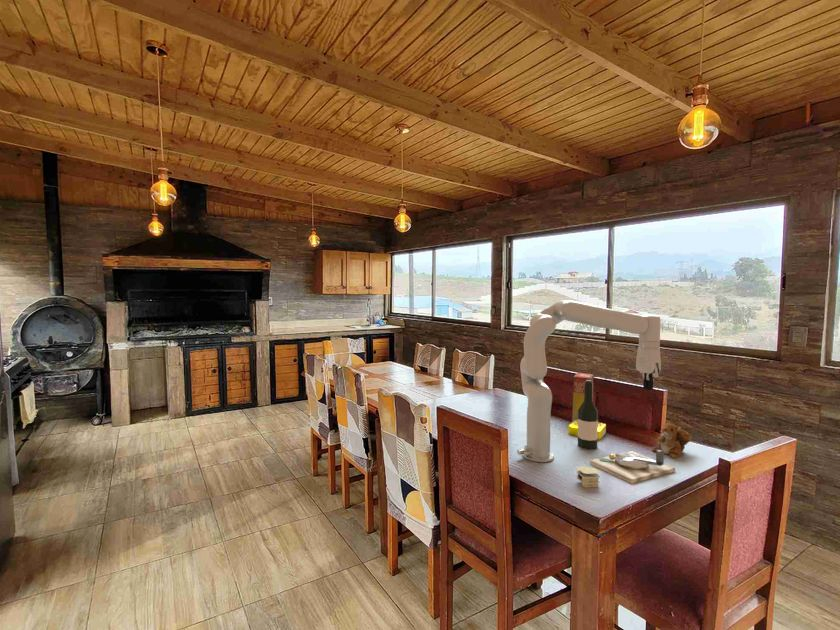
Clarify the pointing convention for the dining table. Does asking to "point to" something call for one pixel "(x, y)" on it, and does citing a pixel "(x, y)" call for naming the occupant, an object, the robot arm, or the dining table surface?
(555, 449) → the dining table surface
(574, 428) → the element tile
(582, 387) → the food packaging
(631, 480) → the stand board
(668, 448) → the stuffed squirrel
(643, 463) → the silver rounded piece
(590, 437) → the wine bottle
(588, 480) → the tan layered block
